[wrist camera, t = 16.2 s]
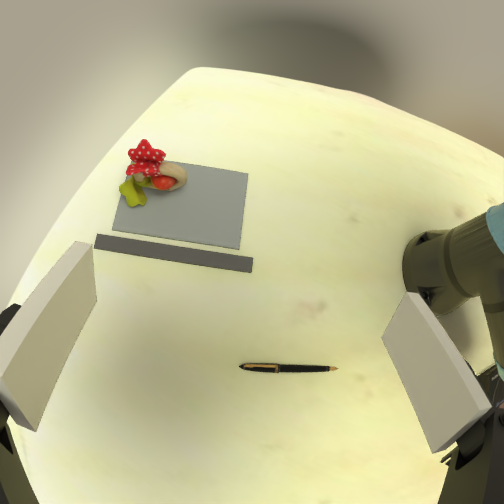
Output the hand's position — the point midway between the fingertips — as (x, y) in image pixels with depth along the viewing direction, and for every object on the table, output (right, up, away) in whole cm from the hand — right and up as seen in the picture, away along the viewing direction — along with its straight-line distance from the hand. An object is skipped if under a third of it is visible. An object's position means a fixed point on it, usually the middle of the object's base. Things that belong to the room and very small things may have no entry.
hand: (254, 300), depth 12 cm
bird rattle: (-14, +11, +31) cm, 35 cm away
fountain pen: (+5, -14, +28) cm, 32 cm away
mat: (-10, +7, +31) cm, 33 cm away
